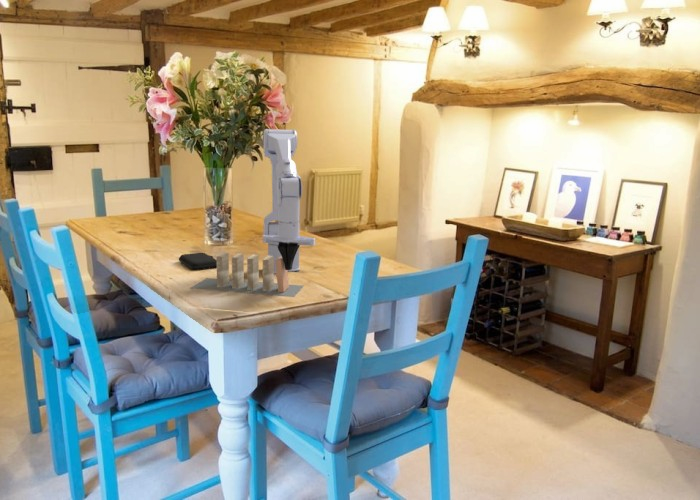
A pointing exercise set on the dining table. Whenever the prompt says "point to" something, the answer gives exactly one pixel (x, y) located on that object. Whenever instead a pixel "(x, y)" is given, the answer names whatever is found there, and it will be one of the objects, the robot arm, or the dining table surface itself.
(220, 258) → the beige wooden block
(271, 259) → the wooden block
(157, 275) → the dining table surface
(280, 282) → the terracotta domino
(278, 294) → the slate runway mat
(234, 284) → the ivory domino
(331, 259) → the dining table surface
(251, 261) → the wooden block
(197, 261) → the carrying case or bag
